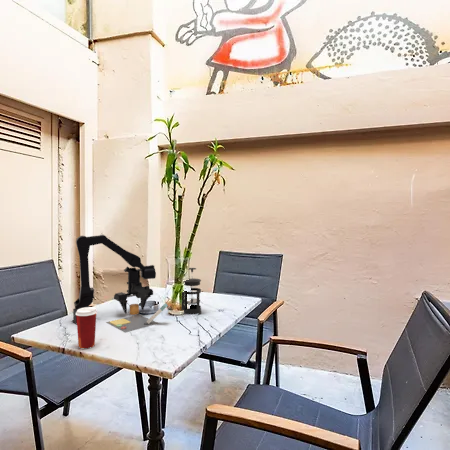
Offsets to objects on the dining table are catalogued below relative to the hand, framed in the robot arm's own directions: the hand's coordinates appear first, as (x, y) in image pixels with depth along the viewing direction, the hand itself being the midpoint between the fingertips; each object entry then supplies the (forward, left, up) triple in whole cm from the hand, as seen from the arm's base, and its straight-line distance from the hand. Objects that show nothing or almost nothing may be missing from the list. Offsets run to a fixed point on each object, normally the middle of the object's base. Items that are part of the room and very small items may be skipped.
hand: (134, 311), depth 168 cm
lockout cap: (0, 0, -2) cm, 2 cm away
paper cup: (-33, -22, -2) cm, 40 cm away
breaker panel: (-8, -12, -2) cm, 15 cm away
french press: (+22, -17, -2) cm, 28 cm away
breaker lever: (-3, -17, -1) cm, 18 cm away
